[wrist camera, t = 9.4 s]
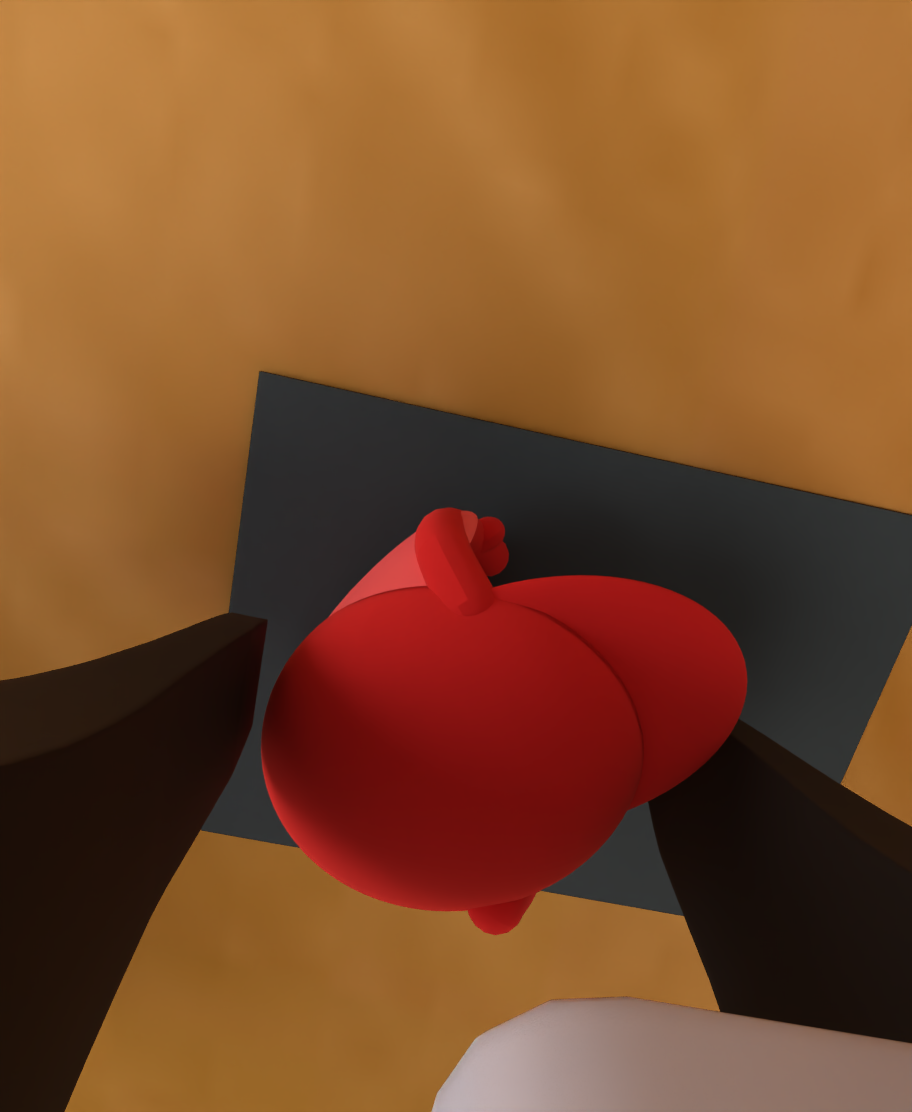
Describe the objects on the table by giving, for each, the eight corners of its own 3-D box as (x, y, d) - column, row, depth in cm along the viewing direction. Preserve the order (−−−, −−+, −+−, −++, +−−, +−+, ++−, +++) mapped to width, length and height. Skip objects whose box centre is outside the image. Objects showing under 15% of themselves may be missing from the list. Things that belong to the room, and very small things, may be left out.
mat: (202, 827, 16) (201, 830, 16) (260, 371, 13) (259, 371, 13) (771, 929, 17) (773, 932, 16) (953, 524, 14) (957, 525, 13)
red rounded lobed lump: (438, 837, 16) (428, 1120, 10) (239, 672, 14) (96, 886, 9) (709, 611, 14) (886, 794, 8) (511, 402, 13) (557, 447, 7)
